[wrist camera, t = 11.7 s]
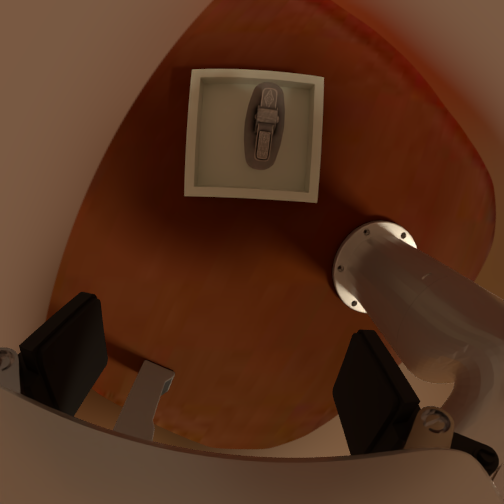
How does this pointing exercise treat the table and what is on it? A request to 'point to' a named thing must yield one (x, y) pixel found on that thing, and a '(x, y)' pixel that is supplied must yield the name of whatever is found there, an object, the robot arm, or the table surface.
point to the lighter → (264, 125)
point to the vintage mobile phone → (144, 401)
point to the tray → (232, 136)
